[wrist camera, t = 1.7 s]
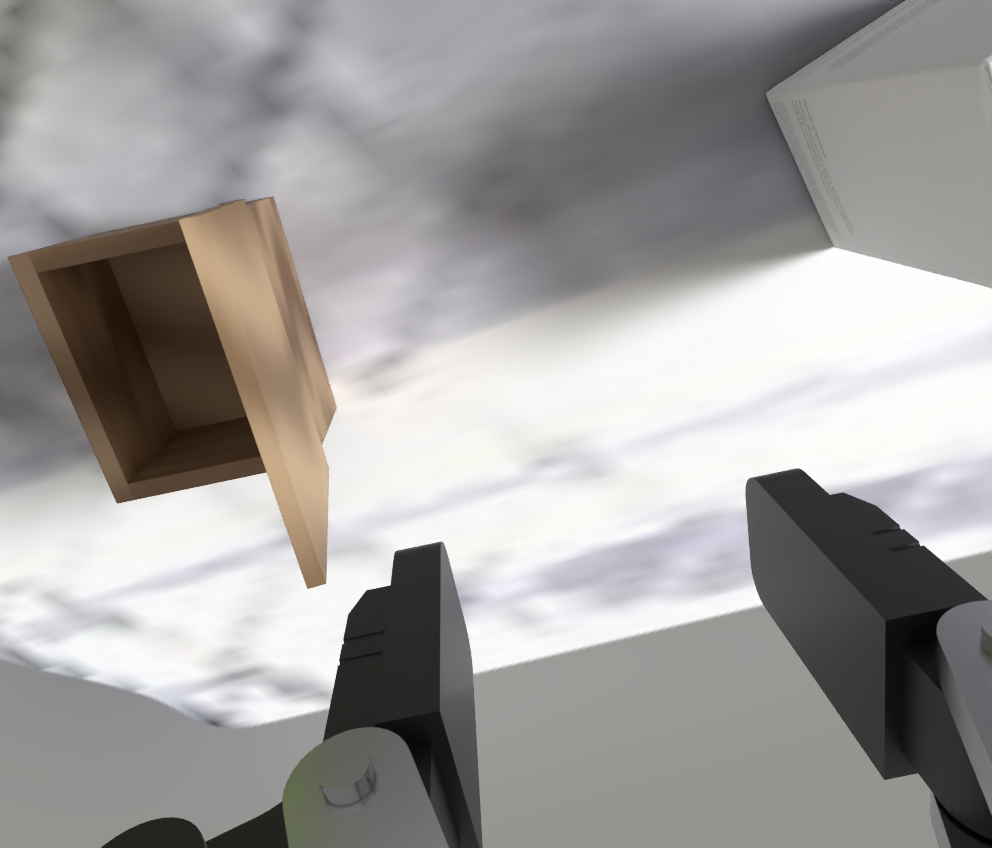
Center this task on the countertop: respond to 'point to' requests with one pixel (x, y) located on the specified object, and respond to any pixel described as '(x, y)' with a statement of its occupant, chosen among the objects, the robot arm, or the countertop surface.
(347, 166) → the countertop surface
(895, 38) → the supplement box
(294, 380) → the lid
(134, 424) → the box
